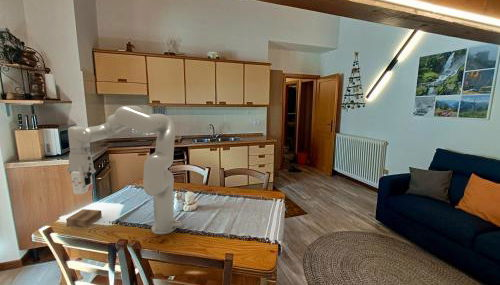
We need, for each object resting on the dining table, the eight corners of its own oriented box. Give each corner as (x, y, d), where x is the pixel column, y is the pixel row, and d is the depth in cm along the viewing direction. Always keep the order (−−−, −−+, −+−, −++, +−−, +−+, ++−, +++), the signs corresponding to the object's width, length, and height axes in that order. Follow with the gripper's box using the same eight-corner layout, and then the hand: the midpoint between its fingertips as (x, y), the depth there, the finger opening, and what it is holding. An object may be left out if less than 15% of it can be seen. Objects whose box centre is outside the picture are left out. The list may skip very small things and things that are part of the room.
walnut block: (101, 217, 132) (101, 210, 131) (86, 228, 121) (85, 220, 120) (83, 216, 133) (82, 209, 132) (67, 226, 122) (66, 218, 121)
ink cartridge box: (84, 188, 128) (82, 162, 125) (93, 188, 128) (91, 162, 125) (72, 194, 120) (69, 166, 117) (82, 194, 119) (79, 167, 117)
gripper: (100, 149, 123) (103, 182, 126) (68, 148, 123) (72, 180, 127) (90, 152, 116) (93, 187, 119) (56, 151, 116) (61, 185, 119)
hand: (82, 183), depth 123 cm, fingers closed on ink cartridge box, 5 cm apart
